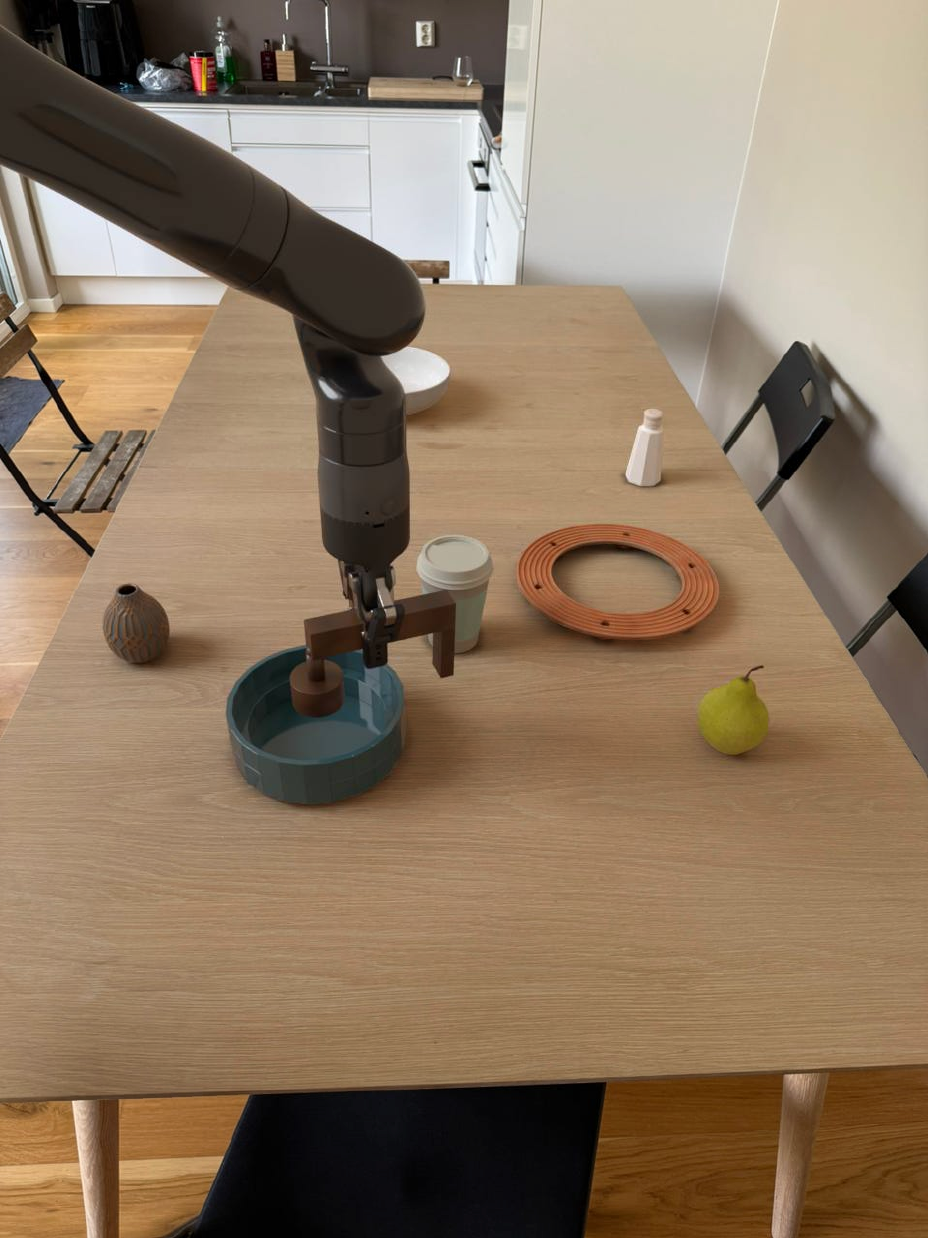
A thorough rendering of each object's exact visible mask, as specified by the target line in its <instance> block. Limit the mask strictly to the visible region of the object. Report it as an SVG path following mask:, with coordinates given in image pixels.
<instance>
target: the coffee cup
mask: <svg viewBox="0 0 928 1238" xmlns="http://www.w3.org/2000/svg"><path fill="white" fill-rule="evenodd" d="M415 568H416V569H415V570H416V573H417V574H418V576H419V578H420V587H421V593H422V594H421V595H423V594H428V593H433V592H437V591H442V590H448V592H449V593H450V595H451V596H452V598H453V599H454V601H455V602H456V623H455V651H454V654H463V653H466V652H468V651H470V650H471V649H473V648H474V647H475V646H476V645H477V644H478V640H479V635H480V634H479V633H480V631H481V625H482V620H483V614H484V610H485V604H486V599H487V593H488V588H489V585H490V584H489V583H490V578H491V577H492V576H493V573H494V570H495V569H494V562H493V558H492V556H491V555H490V551H489V549H488V547H487V546H486V545H485V544H484V542H482V541H481V540H479V539H476V538H474V537H471V536H467V535H462V534H447V535H441V536H437V537H435V538H433V539H431V540H429V541H427V542H426V543H425V544H424V545H423V547H422V548H421V552H420V554H419V555H418V557H417V561H416V567H415ZM427 637H428V642H429V643H430V645H431V647H433V633H431V634H427Z"/></svg>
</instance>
